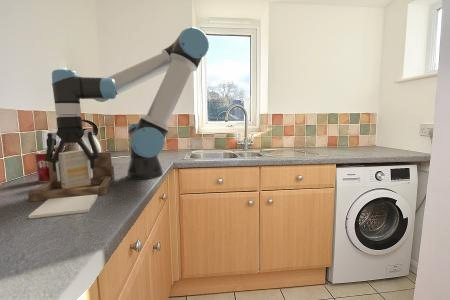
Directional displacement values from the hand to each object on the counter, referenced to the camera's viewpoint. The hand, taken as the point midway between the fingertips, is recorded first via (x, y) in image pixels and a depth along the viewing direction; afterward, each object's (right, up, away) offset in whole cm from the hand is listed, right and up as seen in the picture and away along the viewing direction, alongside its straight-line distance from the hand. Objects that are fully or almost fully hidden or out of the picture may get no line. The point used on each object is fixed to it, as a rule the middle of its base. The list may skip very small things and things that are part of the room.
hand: (75, 178), depth 90 cm
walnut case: (0, -4, +2) cm, 4 cm away
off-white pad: (+7, -6, -16) cm, 19 cm away
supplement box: (0, -3, 0) cm, 3 cm away
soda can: (-21, -3, +15) cm, 26 cm away
